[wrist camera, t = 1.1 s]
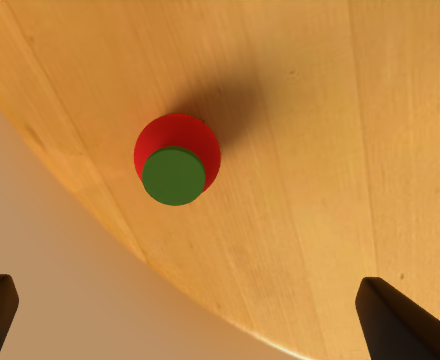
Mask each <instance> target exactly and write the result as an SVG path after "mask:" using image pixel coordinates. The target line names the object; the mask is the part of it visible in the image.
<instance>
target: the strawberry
mask: <svg viewBox="0 0 440 360" xmlns="http://www.w3.org/2000/svg"><path fill="white" fill-rule="evenodd" d="M220 162H221V152H220V147H219V144H218V141H217V139H216V137H215V135H214V133H213V132H212V131H211V129H210V128H209V127H208V126H207V125H206V124H205V123H204V121H200V120H199V119H197V118H195V117H192V116H189V115H185V114H169V115H165V116H162V117H159V118H157V119H155V120H154V121H152V122H151V123H149V124H148V125H147V126H146V127H145V128H144V130H143V131H142V132H141V134H140V135H139V137H138V139H137V142H136V145H135V149H134V164H135V168H136V172H137V174H138V176H139V178H140V180H141V181H142V183H143V185H144V187H145V189H146V191H147V192H148V194H149V195H150V196H151V197H152V198H154V199H155V200H157V201H158V202H160V203H163V204H166V205H172V206H179V205H184V204H187V203H190V202H191V201H193V200H195V199H196V198H197V197H198V196H199V195H200V194H201V193H202V192H204V191H205V190H206V189H207V188H208V187H209V186H210V185H211V184H212V183H213V181H214V180H215V178H216V176H217V174H218V171H219V168H220Z"/></svg>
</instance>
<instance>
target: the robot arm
mask: <svg viewBox="0 0 440 360" xmlns="http://www.w3.org/2000/svg"><path fill="white" fill-rule="evenodd" d="M18 304H19V298H18V294H17V291H16V288H15V285H14V283H13V279H12V277H11V276H10V275H7V274H0V351H1V348H2V346H3V343H4V341H5V338H6V336H7V333H8V331H9V328H10V326H11V323H12V321H13V318H14V315H15V313H16V311H17V308H18ZM355 305H356V310H357V313H358V317H359V320H360V323H361V327H362V330H363V333H364V337H365V340H366V343H367V347H368V350H369V354H370V357H371V360H440V321H439V320H438V319H437V318H435V317H434V316H432V315H431V314H430V313H428V312H427V311H426V310H424V309H423V308H422V307H420V306H419V305H417V304H416V303H415V302H413V301H412V300H411V299H409V298H408V297H406V296H405V295H404V294H402V293H401V292H400V291H398V290H397V289H395V288H394V287H393V286H391V285H390V284H389V283H387V282H386V281H384V280H383V279H382V278H379V277H364V278H363V279H362V281H361V284H360V287H359V290H358V293H357V296H356V300H355Z"/></svg>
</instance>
